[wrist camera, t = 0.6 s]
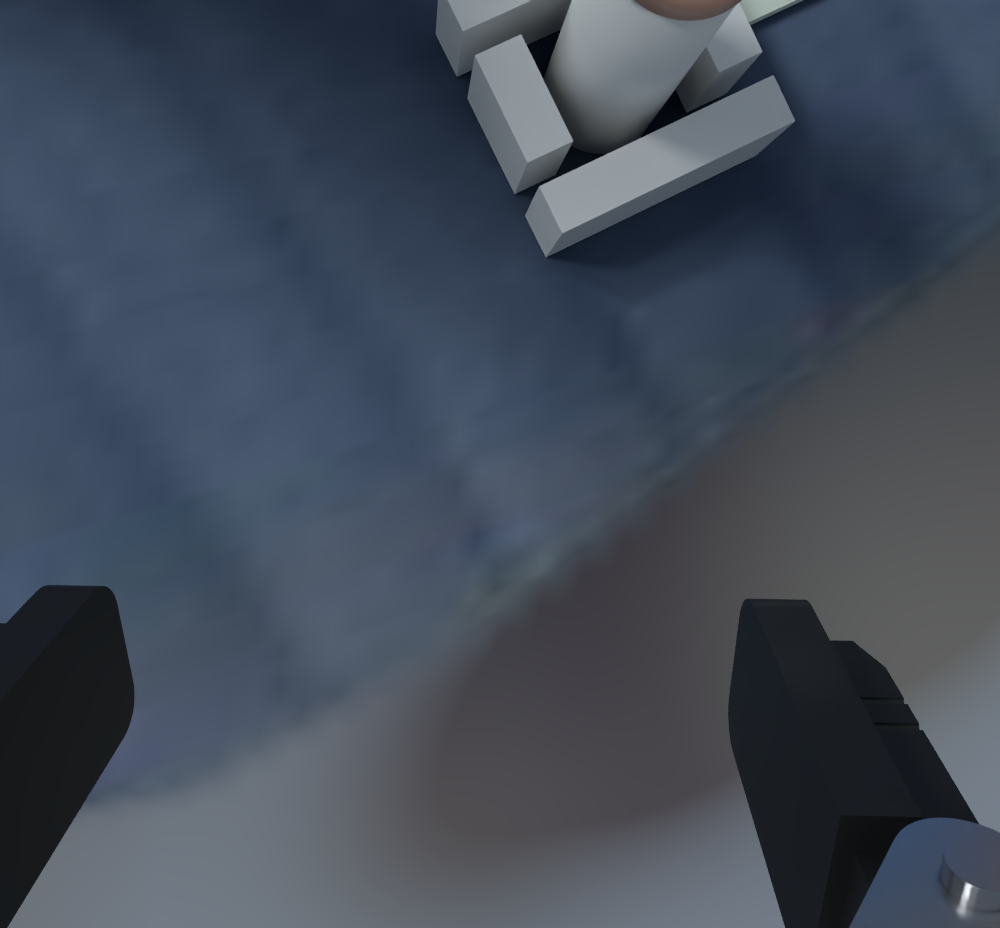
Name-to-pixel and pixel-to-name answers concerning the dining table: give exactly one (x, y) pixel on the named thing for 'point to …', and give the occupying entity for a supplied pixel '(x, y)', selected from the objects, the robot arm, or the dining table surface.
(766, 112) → the frame
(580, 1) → the mushroom
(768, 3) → the pad
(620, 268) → the dining table surface
